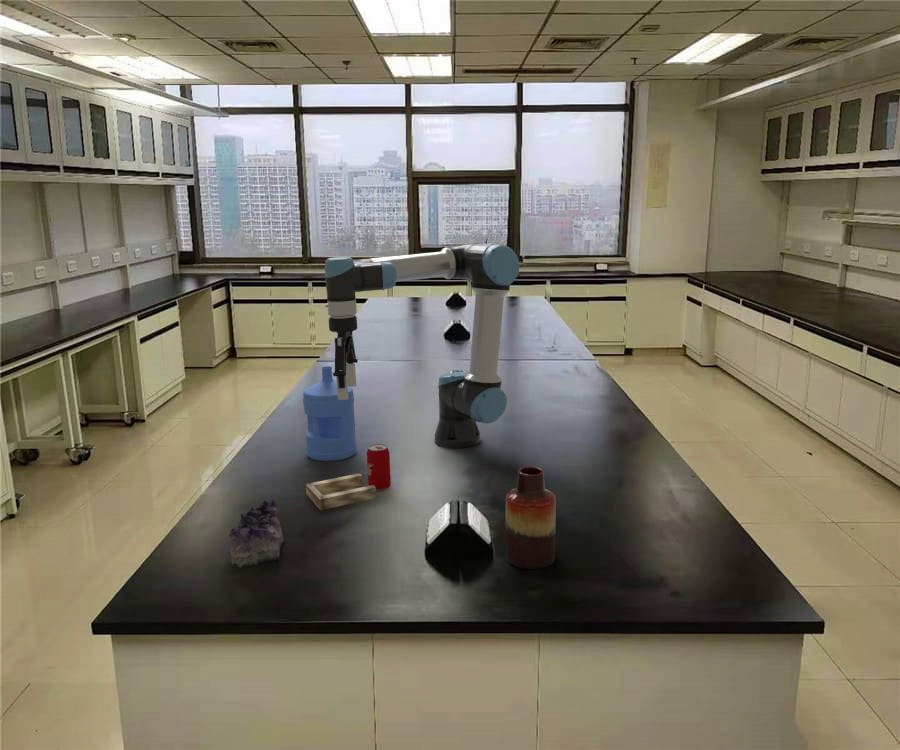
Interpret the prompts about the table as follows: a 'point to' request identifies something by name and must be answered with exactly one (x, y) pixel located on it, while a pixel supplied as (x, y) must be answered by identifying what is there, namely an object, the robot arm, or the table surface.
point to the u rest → (339, 491)
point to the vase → (530, 521)
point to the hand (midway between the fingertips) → (347, 392)
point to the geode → (257, 536)
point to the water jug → (329, 420)
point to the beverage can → (378, 466)
